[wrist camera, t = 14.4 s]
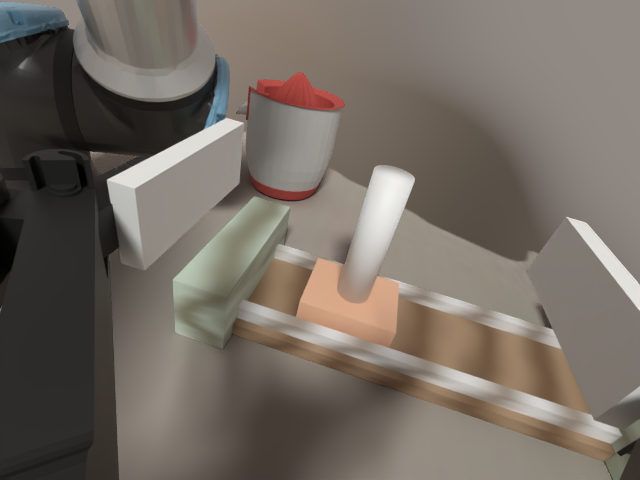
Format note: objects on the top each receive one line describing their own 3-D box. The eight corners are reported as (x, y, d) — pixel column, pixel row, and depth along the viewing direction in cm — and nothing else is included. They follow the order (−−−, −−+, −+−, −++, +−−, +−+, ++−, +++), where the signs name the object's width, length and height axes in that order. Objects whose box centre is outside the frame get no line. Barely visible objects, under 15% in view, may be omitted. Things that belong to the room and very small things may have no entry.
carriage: (295, 318, 35) (329, 173, 26) (314, 273, 42) (346, 145, 33) (388, 349, 35) (456, 210, 25) (392, 298, 41) (447, 173, 32)
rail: (170, 331, 33) (167, 277, 29) (246, 238, 48) (250, 195, 44) (681, 508, 29) (755, 473, 25) (590, 347, 44) (628, 309, 40)
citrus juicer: (243, 160, 70) (252, 53, 59) (326, 179, 71) (349, 76, 60) (219, 193, 57) (225, 63, 46) (320, 215, 58) (349, 92, 47)
